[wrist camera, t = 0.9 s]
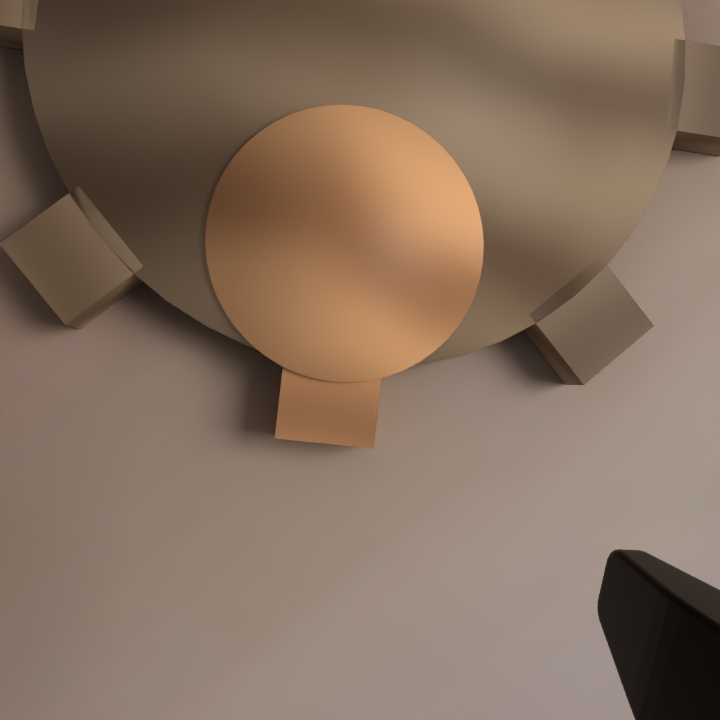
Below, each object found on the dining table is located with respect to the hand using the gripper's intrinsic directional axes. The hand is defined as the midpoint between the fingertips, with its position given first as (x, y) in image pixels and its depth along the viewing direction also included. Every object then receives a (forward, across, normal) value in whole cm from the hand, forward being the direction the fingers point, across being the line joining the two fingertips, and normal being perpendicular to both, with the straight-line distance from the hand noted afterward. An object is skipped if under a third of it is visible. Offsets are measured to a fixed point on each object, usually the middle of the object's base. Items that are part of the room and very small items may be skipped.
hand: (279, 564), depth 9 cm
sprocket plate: (+18, -2, -9) cm, 20 cm away
